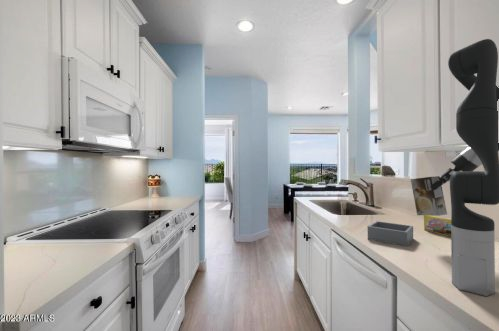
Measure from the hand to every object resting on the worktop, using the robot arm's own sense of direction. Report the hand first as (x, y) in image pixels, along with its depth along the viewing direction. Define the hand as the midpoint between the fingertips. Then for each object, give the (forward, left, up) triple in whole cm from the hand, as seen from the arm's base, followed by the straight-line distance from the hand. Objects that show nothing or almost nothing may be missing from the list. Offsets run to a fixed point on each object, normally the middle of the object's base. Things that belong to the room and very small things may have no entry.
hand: (433, 187), depth 104 cm
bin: (+1, +17, -25) cm, 30 cm away
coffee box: (0, +1, -12) cm, 12 cm away
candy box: (+26, 0, -26) cm, 36 cm away
